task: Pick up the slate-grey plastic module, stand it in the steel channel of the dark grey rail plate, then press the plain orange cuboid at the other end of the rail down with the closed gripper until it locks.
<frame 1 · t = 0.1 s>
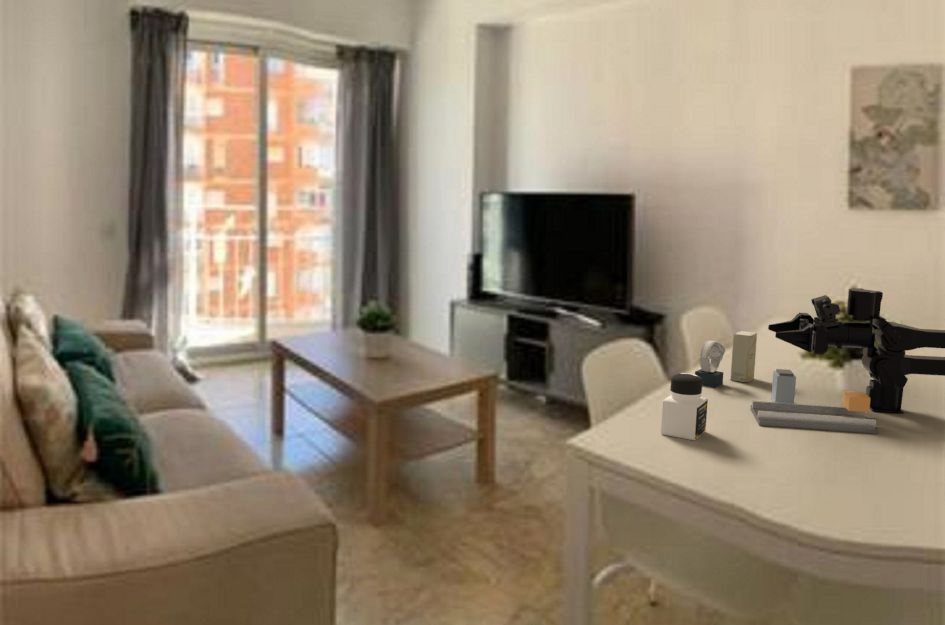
hand: (771, 331, 181), 17 cm above the table, tool horizontal, fingers open, 9 cm apart
plain orange cuboid: (856, 401, 167), point 5 cm above the table, slide at 0.0 cm
medicine bottle: (683, 434, 160), on the table
skincare box: (741, 380, 204), on the table
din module: (782, 403, 183), on the table
watch: (708, 384, 199), on the table
rail plate: (811, 421, 169), on the table
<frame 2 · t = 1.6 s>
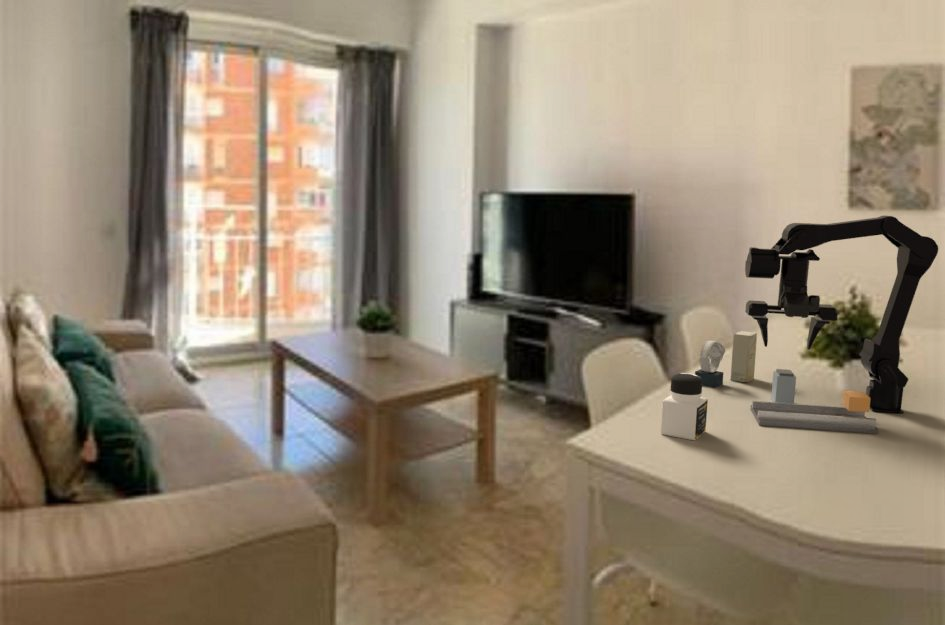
hand: (786, 347, 180), 13 cm above the table, tool pointing down, fingers open, 9 cm apart
nothing on the table moved.
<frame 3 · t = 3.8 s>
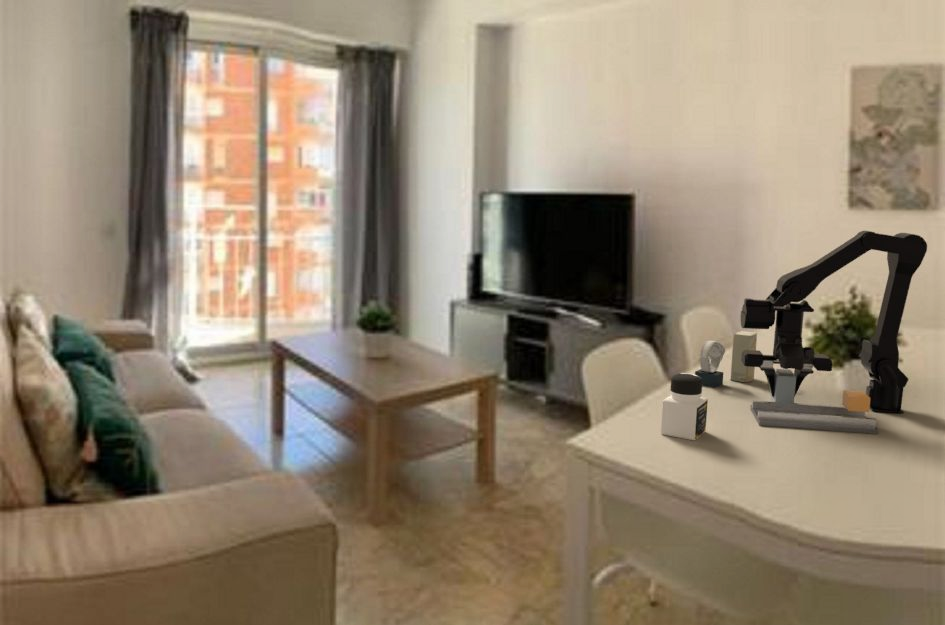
hand: (782, 396, 182), 2 cm above the table, tool pointing down, fingers closed on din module, 4 cm apart
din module: (782, 403, 183), on the table, touching gripper
everything else where it was.
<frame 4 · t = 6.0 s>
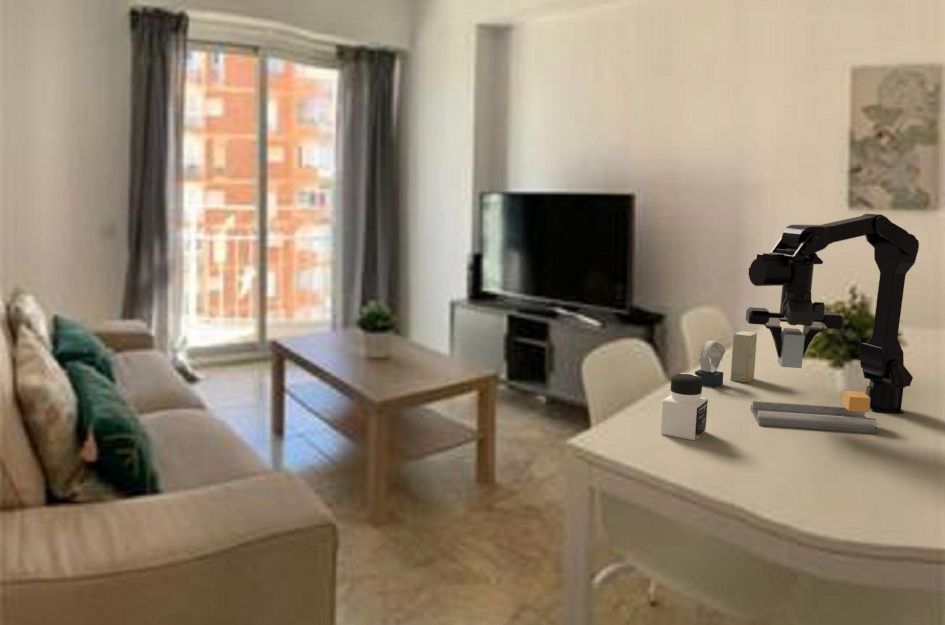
hand: (790, 357, 169), 13 cm above the table, tool pointing down, fingers closed on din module, 4 cm apart
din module: (789, 364, 169), point 12 cm above the table, touching gripper
everything else where it was.
when the fingers open (3 cm above the table, at t = 8.2 s): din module stays where it is, resting on rail plate.
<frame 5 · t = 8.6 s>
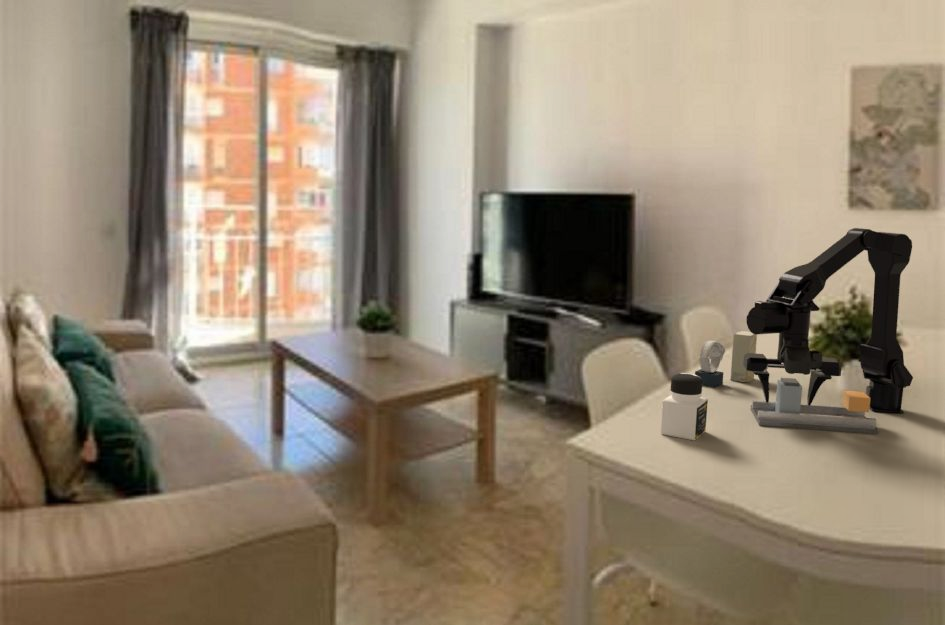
hand: (787, 403, 170), 3 cm above the table, tool pointing down, fingers open, 8 cm apart
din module: (786, 414, 170), point 1 cm above the table, touching rail plate
everything else where it was.
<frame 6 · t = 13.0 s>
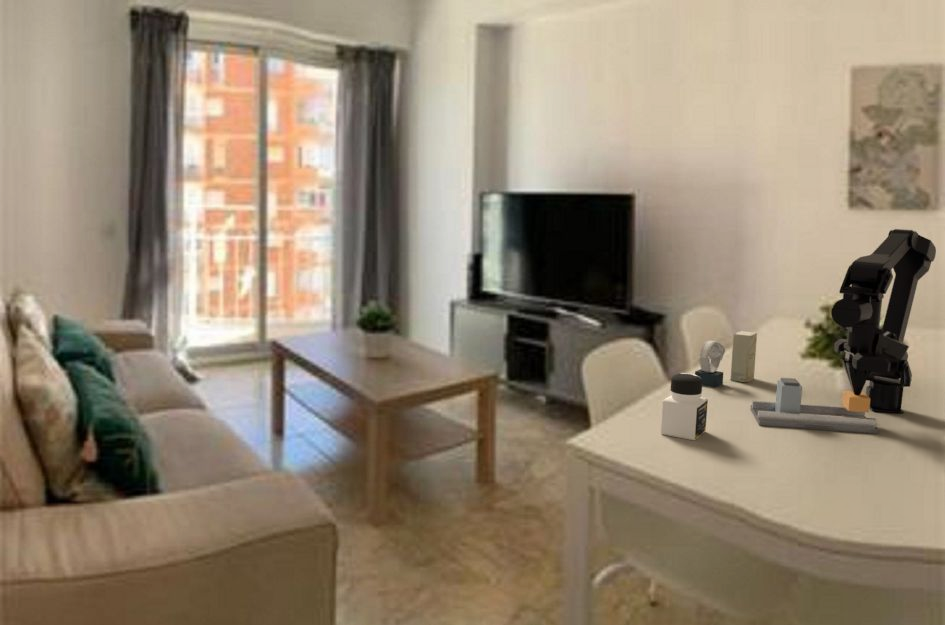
hand: (856, 394, 167), 6 cm above the table, tool pointing down, fingers closed, pressing on plain orange cuboid
plain orange cuboid: (856, 401, 167), point 5 cm above the table, slide at -0.1 cm, touching gripper
everything else where it was.
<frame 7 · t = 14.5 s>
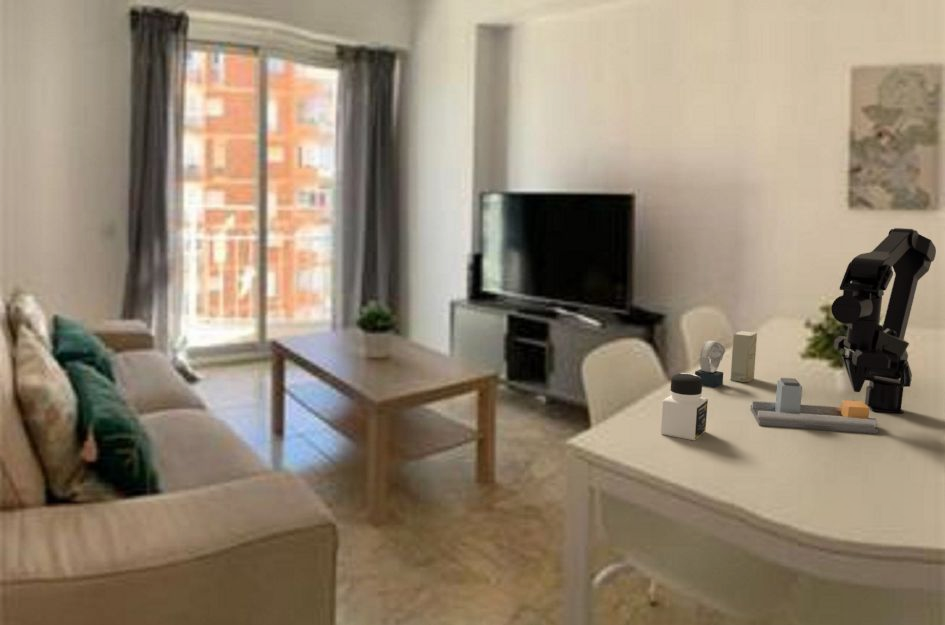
hand: (856, 391, 167), 7 cm above the table, tool pointing down, fingers closed
plain orange cuboid: (855, 410, 167), point 3 cm above the table, slide at -2.1 cm
everything else where it was.
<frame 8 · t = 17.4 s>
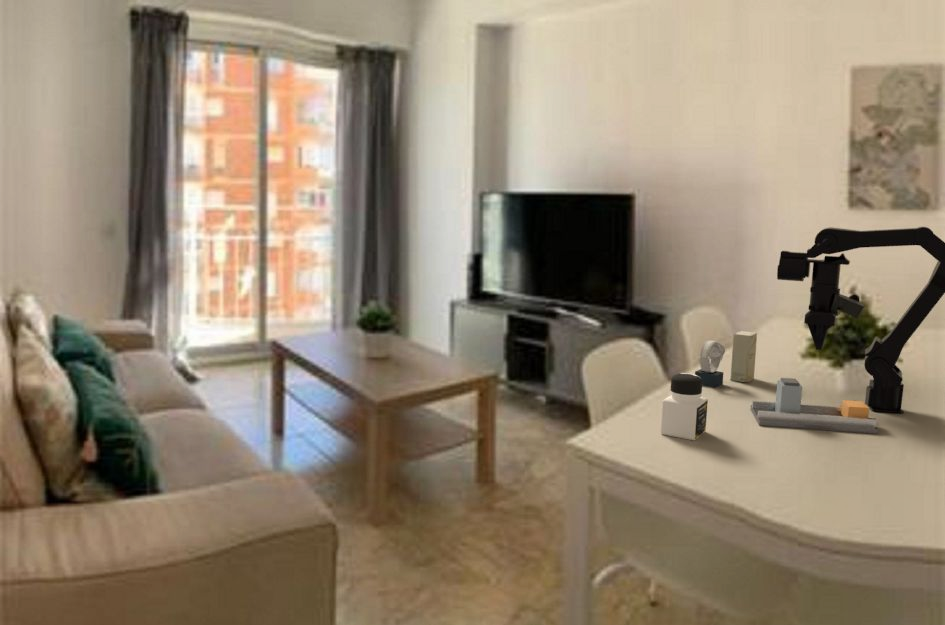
hand: (818, 349, 184), 12 cm above the table, tool pointing down, fingers closed
nothing on the table moved.
at the end: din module 0.1 cm from the target spot on the rail plate, point 1.0 cm above the rail plate's base; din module tilted 0°; plain orange cuboid slide at -2.1 cm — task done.
